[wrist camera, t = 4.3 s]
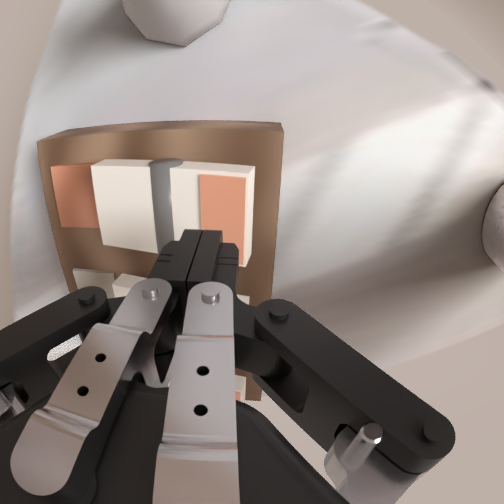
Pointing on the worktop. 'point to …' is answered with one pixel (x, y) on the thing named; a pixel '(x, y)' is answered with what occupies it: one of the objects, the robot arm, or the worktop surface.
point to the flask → (175, 18)
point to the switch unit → (152, 148)
